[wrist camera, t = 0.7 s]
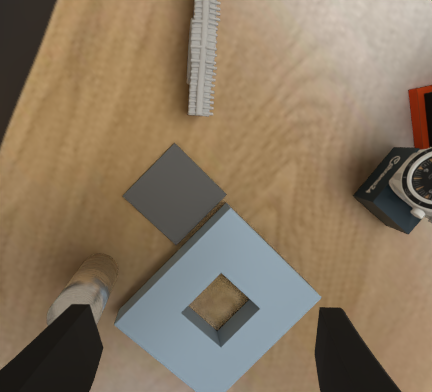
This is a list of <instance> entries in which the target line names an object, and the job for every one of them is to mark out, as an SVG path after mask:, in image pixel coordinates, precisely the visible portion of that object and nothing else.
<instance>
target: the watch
mask: <svg viewBox="0 0 432 392" xmlns="http://www.w3.org/2000/svg"><path fill="white" fill-rule="evenodd" d="M353 196H354V197H355V198H356V199H357V200H358V201H359V202H360V203H361V204H363V205H364V206H365V207H366V208H367V209H368V210H369V211H370V212H371V213H373V214H374V215H375V216H376V217H377V218H378V219H379V220H380V221H382V222H383V223H384V224H385V225H386V226H389V227H391V228H394V229H396V230H399V231H401V232H404V233H406V234H409V233H410V232H411V231H412V230H413V229H414V227H415V226H416V225H417V224H418V223H419V222H420V220H421V219H422V218H423V217H424V216H425V217H427V218H428V219H429V222H431V223H432V147H430V148H428V149H422V150H420V149H419V148H402V147H394V148H393V149H392V150H391V151H390V153H389V154H388V155H387V156H386V157H385V159H384V160H383V161H382V162H381V163H380V164H379V166H378V167H377V168H376V169H375V170H374V172H373V173H372V174H371V175H370V176H369V177H368V179H367V180H366V181H365V182H364V183H363V185H362V186H361V187H360V188H359V189H358V191H357V192H356V193H355V194H354V195H353Z"/></svg>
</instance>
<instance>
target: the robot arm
mask: <svg viewBox="0 0 432 392" xmlns="http://www.w3.org/2000/svg"><path fill="white" fill-rule="evenodd" d="M102 350H103V345H102V342H101V339H100V336H99V332H98V329H97V326H96V323H95V319H94V316H93V313H92V310H91V306H90V304H71V305H70V306H69V307H68V308H67V309H66V310H65V311H64V312H62V313H61V314H60V315H59V316H58V317H57V318H56V319H55V320H54V321H53V322H52V323H51V324H50V325H49V326H48V327H47V328H46V329H45V330H44V331H43V332H42V333H40V334H39V335H38V336H37V337H36V338H35V339H34V340H33V341H32V342H31V343H30V344H29V345H28V346H27V347H25V348H24V349H23V350H22V351H21V352H20V353H19V354H18V355H17V356H16V357H15V358H14V359H13V360H11V361H10V362H9V363H8V364H7V365H6V366H5V367H3V368H2V369H1V370H0V392H89V391H90V388H91V386H92V383H93V381H94V378H95V375H96V371H97V368H98V365H99V361H100V358H101V354H102ZM315 360H316V367H317V374H318V380H319V387H320V391H321V392H401V390H400V389H399V388H398V387H397V385H396V384H395V383H394V382H393V380H392V379H391V378H390V376H389V375H388V374H387V372H386V371H385V370H384V368H383V367H382V366H381V365H380V363H379V362H378V361H377V359H376V358H375V356H374V355H373V354H372V352H371V351H370V350H369V348H368V347H367V345H366V344H365V342H364V341H363V339H362V338H361V337H360V335H359V334H358V332H357V331H356V329H355V328H354V326H353V325H352V323H351V321H350V320H349V318H348V317H347V315H346V313H345V312H344V310H343V309H341V308H325V307H320V310H319V318H318V327H317V336H316V345H315Z"/></svg>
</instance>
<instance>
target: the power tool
mask: <svg viewBox="0 0 432 392" xmlns="http://www.w3.org/2000/svg"><path fill="white" fill-rule="evenodd" d="M408 91H409V100H410V109H411V118H412V127H413V136H414V146H415V148H419V149H420V150H422V149H428V148H430V147H432V85H429V86H425V87H420V88H416V89H411V90H408Z"/></svg>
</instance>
